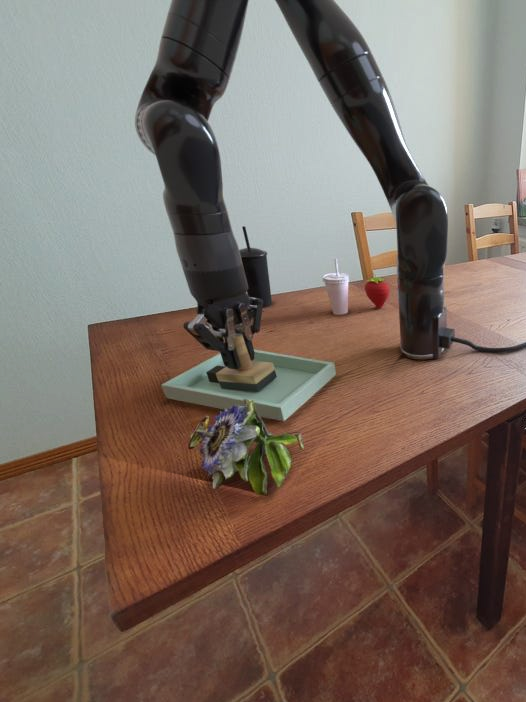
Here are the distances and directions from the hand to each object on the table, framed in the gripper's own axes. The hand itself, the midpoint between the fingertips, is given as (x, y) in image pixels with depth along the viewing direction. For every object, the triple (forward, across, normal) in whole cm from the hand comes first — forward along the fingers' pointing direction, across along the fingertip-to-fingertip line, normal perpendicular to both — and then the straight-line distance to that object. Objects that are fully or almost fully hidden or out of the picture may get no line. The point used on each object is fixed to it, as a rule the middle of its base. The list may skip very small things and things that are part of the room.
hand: (241, 363), depth 64 cm
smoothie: (+5, +37, +4) cm, 37 cm away
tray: (+5, 0, -2) cm, 5 cm away
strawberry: (+5, +43, -4) cm, 43 cm away
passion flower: (+5, -16, -15) cm, 23 cm away
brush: (+4, 0, -1) cm, 4 cm away
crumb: (+4, 0, +5) cm, 6 cm away
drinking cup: (+5, +35, +26) cm, 44 cm away
